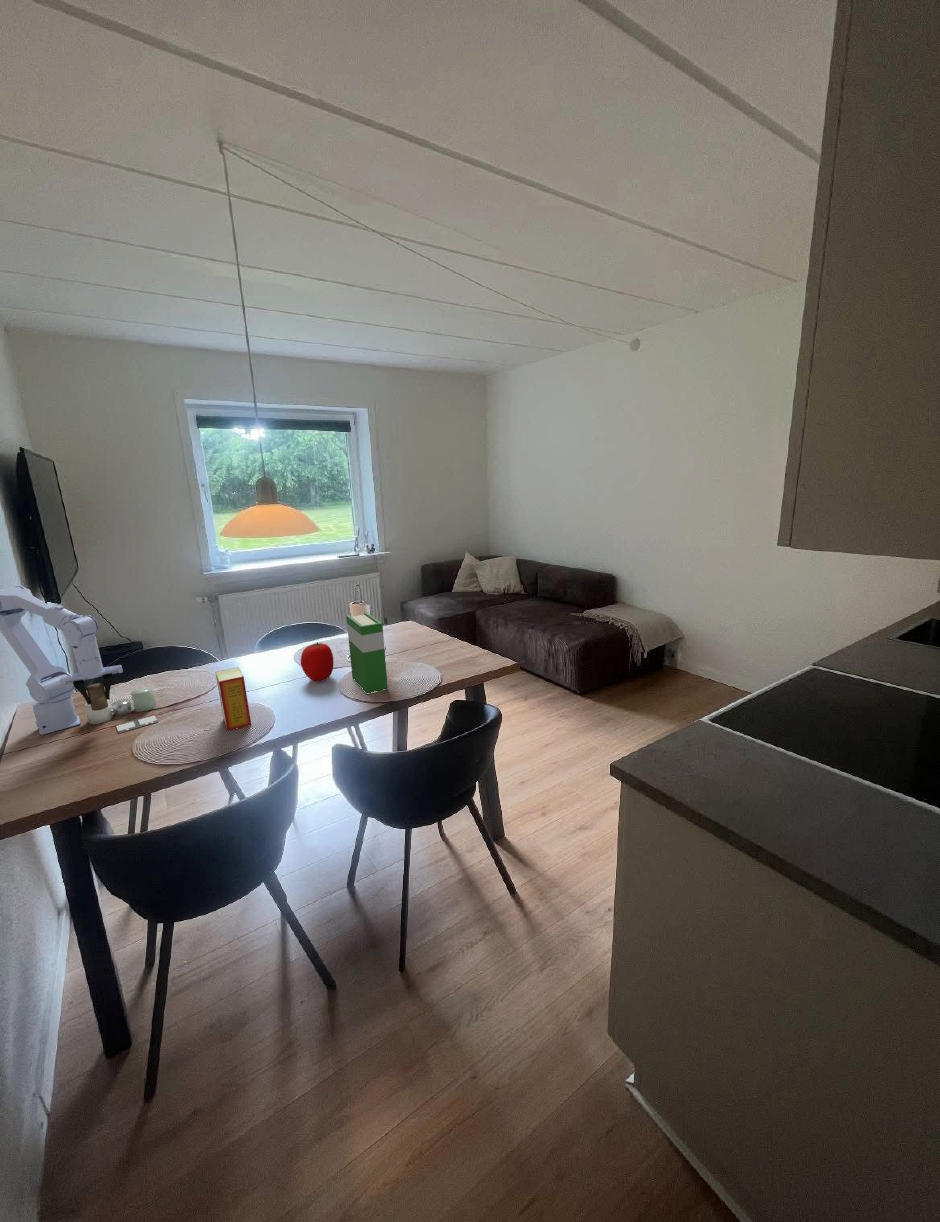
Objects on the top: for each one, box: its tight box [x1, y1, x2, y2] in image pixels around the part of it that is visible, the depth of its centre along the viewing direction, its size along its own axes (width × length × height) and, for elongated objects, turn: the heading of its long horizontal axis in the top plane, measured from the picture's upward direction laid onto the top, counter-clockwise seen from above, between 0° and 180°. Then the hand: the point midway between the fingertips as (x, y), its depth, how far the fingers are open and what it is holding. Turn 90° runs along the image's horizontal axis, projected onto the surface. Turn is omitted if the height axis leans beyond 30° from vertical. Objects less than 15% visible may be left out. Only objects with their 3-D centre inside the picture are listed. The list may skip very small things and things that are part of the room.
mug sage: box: [130, 686, 157, 713], centre depth 160 cm, size 6×8×6 cm
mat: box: [115, 714, 159, 734], centre depth 149 cm, size 10×7×1 cm
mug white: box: [84, 699, 113, 725], centre depth 153 cm, size 6×8×6 cm
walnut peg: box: [85, 682, 108, 711], centre depth 144 cm, size 4×4×7 cm
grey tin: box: [111, 699, 133, 717], centre depth 157 cm, size 5×5×4 cm
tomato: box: [300, 642, 334, 683], centre depth 178 cm, size 13×11×14 cm
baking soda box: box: [214, 666, 252, 732], centre depth 146 cm, size 10×6×16 cm
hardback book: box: [345, 611, 389, 694], centre depth 171 cm, size 18×7×24 cm, turn 29°
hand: (98, 700), depth 145 cm, fingers closed on walnut peg, 4 cm apart
